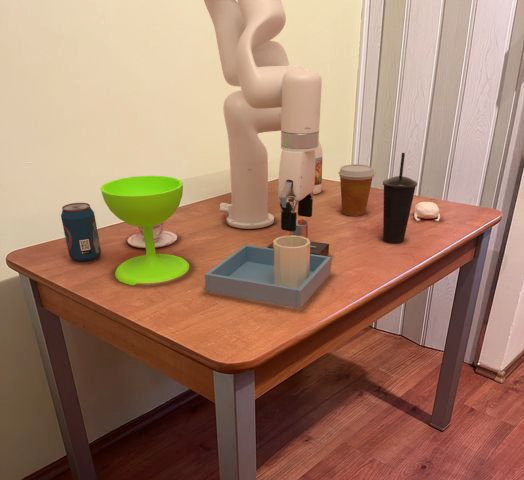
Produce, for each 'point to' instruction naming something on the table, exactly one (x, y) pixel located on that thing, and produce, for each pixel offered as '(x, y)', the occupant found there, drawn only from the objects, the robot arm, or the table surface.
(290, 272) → the cup
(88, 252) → the soda can
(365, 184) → the disposable coffee cup
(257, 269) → the tray
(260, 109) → the robot arm
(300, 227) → the control knob
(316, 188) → the milk bottle
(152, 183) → the wineglass
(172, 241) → the teacup
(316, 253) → the black dial panel
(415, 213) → the frog figurine
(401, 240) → the drinking cup
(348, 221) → the table surface
